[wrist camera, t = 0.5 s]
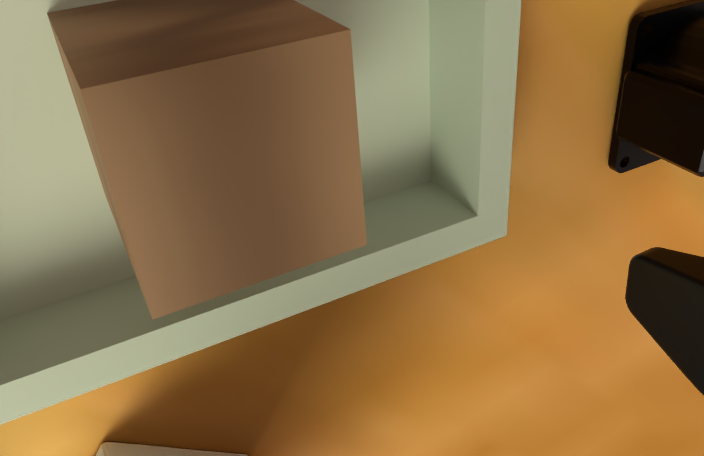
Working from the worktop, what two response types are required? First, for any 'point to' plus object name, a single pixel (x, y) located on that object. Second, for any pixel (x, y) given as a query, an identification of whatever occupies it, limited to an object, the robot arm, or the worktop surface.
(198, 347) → the crate
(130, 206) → the walnut block
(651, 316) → the robot arm
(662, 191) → the worktop surface
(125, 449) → the small box
